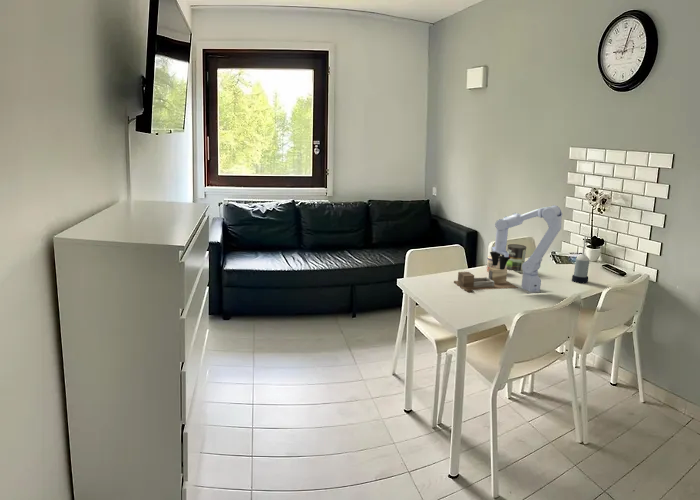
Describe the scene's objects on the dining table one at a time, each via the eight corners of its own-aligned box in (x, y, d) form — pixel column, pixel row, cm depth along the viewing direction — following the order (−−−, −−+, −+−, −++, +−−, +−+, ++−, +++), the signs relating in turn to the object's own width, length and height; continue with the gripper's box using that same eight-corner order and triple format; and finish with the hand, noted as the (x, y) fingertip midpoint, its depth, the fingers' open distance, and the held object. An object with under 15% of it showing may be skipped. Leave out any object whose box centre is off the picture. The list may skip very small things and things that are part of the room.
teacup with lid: (482, 272, 304) (484, 252, 301) (493, 270, 309) (495, 250, 306) (499, 277, 294) (501, 257, 292) (510, 275, 300) (512, 255, 297)
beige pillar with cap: (506, 282, 282) (507, 269, 281) (491, 282, 280) (492, 269, 279) (502, 280, 286) (503, 267, 285) (487, 280, 284) (488, 267, 283)
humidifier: (579, 278, 297) (585, 233, 292) (591, 282, 290) (597, 237, 284) (568, 279, 294) (573, 234, 289) (579, 284, 287) (585, 237, 281)
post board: (518, 289, 273) (519, 276, 272) (466, 292, 267) (468, 278, 266) (502, 280, 289) (504, 268, 287) (453, 282, 282) (454, 269, 281)
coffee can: (513, 273, 305) (516, 248, 302) (501, 268, 314) (503, 244, 311) (527, 271, 309) (530, 247, 306) (515, 267, 318) (517, 243, 315)
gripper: (487, 238, 284) (485, 263, 288) (500, 245, 271) (498, 271, 274) (499, 238, 286) (497, 263, 289) (513, 244, 272) (510, 270, 275)
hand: (498, 267), depth 282 cm, fingers open, 7 cm apart
